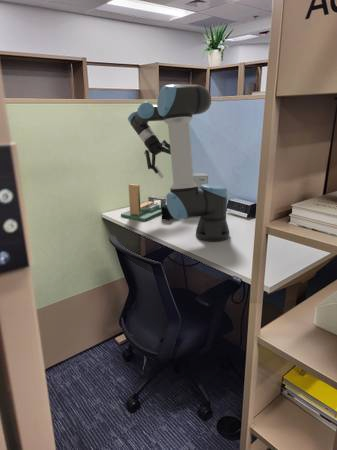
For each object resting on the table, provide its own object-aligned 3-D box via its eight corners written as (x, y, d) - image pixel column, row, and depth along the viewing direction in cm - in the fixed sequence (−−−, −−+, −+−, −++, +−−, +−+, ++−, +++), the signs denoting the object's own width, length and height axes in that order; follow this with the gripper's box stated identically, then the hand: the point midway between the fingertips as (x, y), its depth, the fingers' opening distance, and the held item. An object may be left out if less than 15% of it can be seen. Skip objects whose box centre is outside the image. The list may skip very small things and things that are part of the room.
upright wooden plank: (139, 215, 181) (137, 185, 176) (130, 214, 184) (128, 184, 179) (155, 208, 193) (154, 180, 187) (146, 207, 196) (145, 179, 190)
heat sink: (151, 212, 188) (150, 206, 187) (139, 209, 192) (139, 204, 191) (159, 208, 194) (159, 203, 193) (147, 206, 198) (147, 201, 197)
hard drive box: (207, 208, 199) (208, 173, 192) (207, 212, 191) (208, 176, 185) (180, 207, 200) (180, 173, 193) (179, 211, 193) (179, 176, 186)
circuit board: (144, 221, 178) (144, 218, 177) (120, 216, 186) (120, 213, 186) (171, 209, 197) (171, 206, 197) (148, 205, 206) (148, 202, 205)
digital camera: (170, 221, 178) (170, 208, 176) (161, 219, 181) (161, 206, 178) (180, 215, 186) (180, 203, 184) (171, 214, 189) (171, 201, 187)
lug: (162, 207, 195) (162, 199, 194) (148, 205, 200) (148, 196, 199) (165, 206, 198) (165, 197, 196) (151, 203, 203) (151, 195, 201)
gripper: (164, 132, 193) (186, 163, 193) (128, 151, 183) (151, 184, 183) (169, 125, 186) (191, 158, 186) (132, 145, 176) (156, 179, 176)
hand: (171, 171), depth 184 cm, fingers open, 13 cm apart
